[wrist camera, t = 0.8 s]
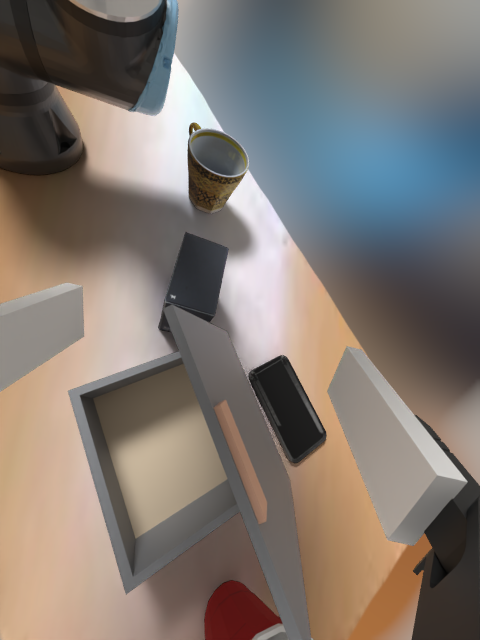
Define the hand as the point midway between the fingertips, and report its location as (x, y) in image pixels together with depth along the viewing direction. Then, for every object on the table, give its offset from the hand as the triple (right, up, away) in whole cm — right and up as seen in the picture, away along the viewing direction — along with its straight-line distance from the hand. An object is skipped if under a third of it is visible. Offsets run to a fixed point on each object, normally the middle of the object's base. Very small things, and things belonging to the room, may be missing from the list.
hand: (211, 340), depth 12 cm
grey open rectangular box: (-7, -14, +21) cm, 26 cm away
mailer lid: (+2, -8, +9) cm, 12 cm away
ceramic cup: (-6, +26, +36) cm, 45 cm away
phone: (+9, -13, +28) cm, 32 cm away
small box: (-7, +3, +28) cm, 29 cm away
